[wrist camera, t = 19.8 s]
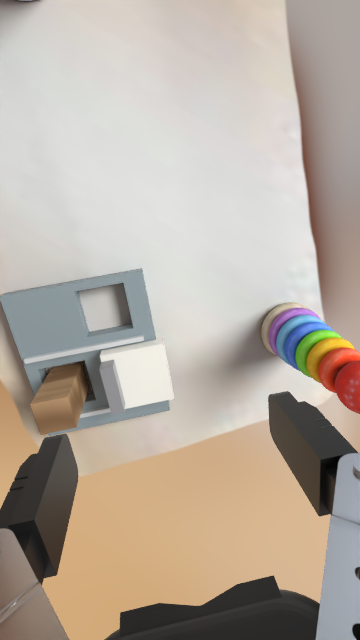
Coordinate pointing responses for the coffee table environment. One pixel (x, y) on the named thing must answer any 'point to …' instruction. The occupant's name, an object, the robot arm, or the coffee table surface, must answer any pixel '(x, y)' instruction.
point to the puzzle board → (78, 337)
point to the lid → (136, 375)
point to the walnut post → (60, 398)
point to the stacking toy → (314, 350)
